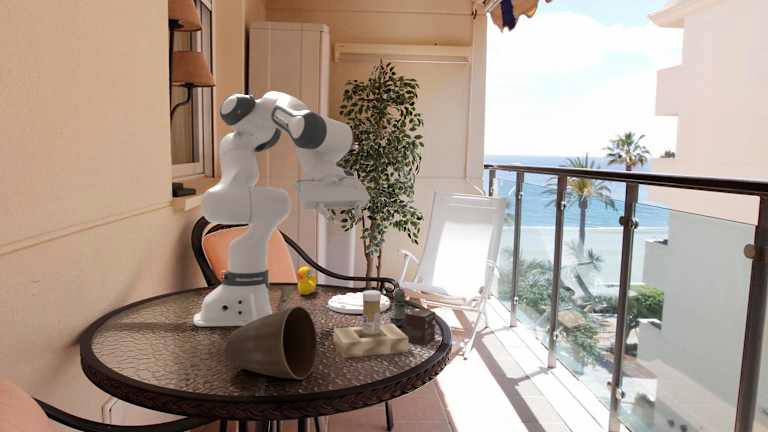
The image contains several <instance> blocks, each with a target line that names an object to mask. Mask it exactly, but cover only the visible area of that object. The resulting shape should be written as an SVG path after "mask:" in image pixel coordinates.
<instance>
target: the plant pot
mask: <svg viewBox="0 0 768 432" xmlns="http://www.w3.org/2000/svg"><path fill="white" fill-rule="evenodd" d="M225 347H226V349H225V350H226V356H227V358H228V361H229V362H230V363H231V364H232V365H233V366H236V367H238V368H241V369H242V370H243V369H244V370H247V371H250V372H253V373H256V374H260V375H265V376H271V377H275V378H283V379H289V380H290V379H292V380H304V379H306V378H307V377H308V376H310V374H311V373H312V371H313V369H314V367H315V363H316V359H317V353H318V338H317V330H316V327H315V323H314V320H313V319H312V316H311V314H310V313H309V311H308V310H307V309H306V308H305V307H303V306H301V305H296V306H292V307H288V308H285V309H282V310H279V311H276V312H272V314H269V315H267V316H264V317H261V318H259V319H257V320H255V321H252V322H250V323H248V324H246V325H244V326H240V327H239V328H237V329H235V330H233V331H232V332H231V333H230V335H229V336H228V338H227V341H226V346H225Z"/></svg>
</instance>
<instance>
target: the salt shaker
mask: <svg viewBox="0 0 768 432" xmlns="http://www.w3.org/2000/svg"><path fill="white" fill-rule="evenodd" d="M405 294H406V293H405V290H403V289H402V288H401V286H400V285H399V286H398V289H395V290H394V293H393V295H394V297H393V299H394V300H393V302H392V303H393V312H392V313H390V314H388V318H389V322H390V324H394V325H395V326H396V327H397V328H398V329H399V330H401V331H402V332H405V313H406V310H405V306H406V301H405V300H406V299H405V297H406V296H405Z"/></svg>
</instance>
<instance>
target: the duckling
mask: <svg viewBox="0 0 768 432" xmlns="http://www.w3.org/2000/svg"><path fill="white" fill-rule="evenodd" d="M296 277H297V279H298V280H299V281H298V283H297V290H298V292H299V294H301V295H307V296H308V295H310V294H311V293H313V292H314V291H315V289H316V287H317V278H316V275H314V274H313V272H312V268H309V267H308V266H303V267H300V268H299V269H298V272H297V273H296Z"/></svg>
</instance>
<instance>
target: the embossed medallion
mask: <svg viewBox="0 0 768 432" xmlns="http://www.w3.org/2000/svg"><path fill="white" fill-rule="evenodd" d="M363 292H364V291H363ZM363 292H356V293H354V292H347V293H346V294H344V295H342V294H337V295H335V296H332V297H331V298H330V299H329V300H328V302H327V303H328V308H329V309H330V310H331V311H335V312H339V313H340V314H353V315H354V314H357V315H359V314H361V315H363ZM389 308H390V299H389V297H387V296H385V295H384V294H381V300H380V313H382V312H385V311H386V310H387V309H389Z"/></svg>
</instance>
